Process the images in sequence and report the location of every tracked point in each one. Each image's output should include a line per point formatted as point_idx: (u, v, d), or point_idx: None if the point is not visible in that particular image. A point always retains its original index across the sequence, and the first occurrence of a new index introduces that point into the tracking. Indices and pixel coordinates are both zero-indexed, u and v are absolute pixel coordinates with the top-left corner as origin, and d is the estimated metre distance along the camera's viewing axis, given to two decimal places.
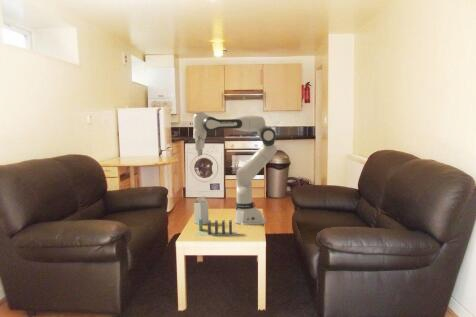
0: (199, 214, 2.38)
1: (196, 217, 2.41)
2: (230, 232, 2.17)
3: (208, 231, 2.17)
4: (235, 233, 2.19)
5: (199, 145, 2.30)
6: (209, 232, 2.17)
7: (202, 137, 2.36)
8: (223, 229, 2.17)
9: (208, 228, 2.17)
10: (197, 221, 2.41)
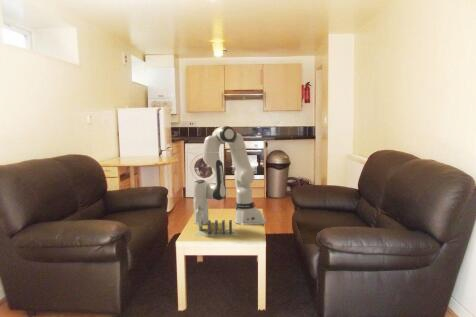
0: None
1: None
2: (230, 232, 2.17)
3: (208, 231, 2.17)
4: (235, 233, 2.19)
5: (200, 217, 2.16)
6: (209, 232, 2.17)
7: (203, 207, 2.22)
8: (223, 229, 2.17)
9: (208, 228, 2.17)
10: None
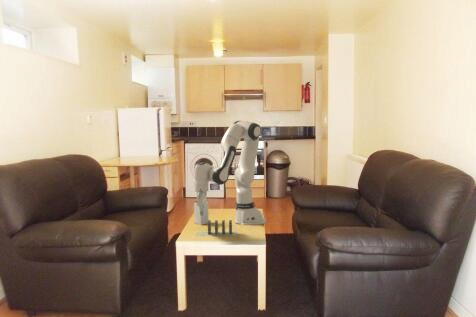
0: (199, 214, 2.38)
1: (196, 217, 2.41)
2: (230, 232, 2.17)
3: (208, 231, 2.17)
4: (235, 233, 2.19)
5: (201, 201, 2.07)
6: (209, 232, 2.17)
7: (204, 190, 2.13)
8: (223, 229, 2.17)
9: (208, 228, 2.17)
10: (197, 221, 2.41)
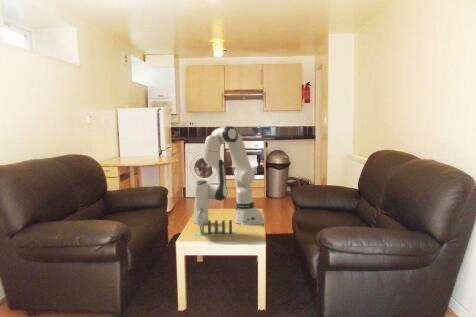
0: None
1: (196, 217, 2.41)
2: (230, 232, 2.17)
3: (208, 231, 2.17)
4: (235, 233, 2.19)
5: (201, 220, 2.08)
6: (209, 232, 2.17)
7: (205, 209, 2.14)
8: (223, 229, 2.17)
9: (208, 228, 2.17)
10: None
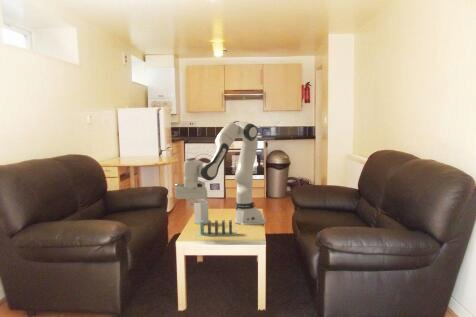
0: (199, 214, 2.38)
1: (196, 217, 2.41)
2: (230, 232, 2.17)
3: (208, 231, 2.17)
4: (235, 233, 2.19)
5: (175, 193, 2.16)
6: (209, 232, 2.17)
7: (184, 186, 2.14)
8: (223, 229, 2.17)
9: (208, 228, 2.17)
10: (197, 221, 2.41)
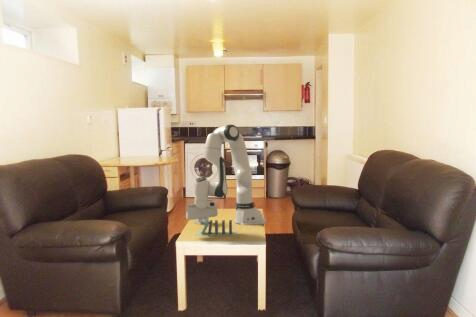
0: None
1: None
2: (230, 232, 2.17)
3: (208, 231, 2.17)
4: (235, 233, 2.19)
5: (187, 215, 2.13)
6: (209, 232, 2.17)
7: (197, 206, 2.14)
8: (223, 229, 2.17)
9: (209, 228, 2.17)
10: (197, 221, 2.41)
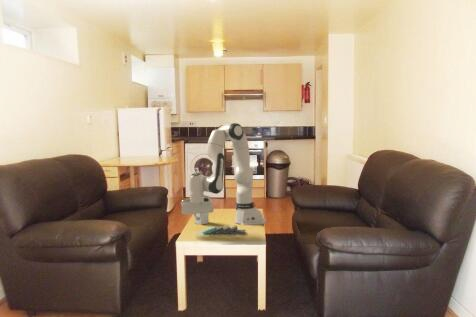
0: (199, 214, 2.38)
1: None
2: (234, 233, 2.17)
3: (213, 231, 2.17)
4: None
5: None
6: (212, 233, 2.17)
7: (191, 201, 2.15)
8: (230, 231, 2.17)
9: (216, 230, 2.17)
10: (197, 221, 2.41)
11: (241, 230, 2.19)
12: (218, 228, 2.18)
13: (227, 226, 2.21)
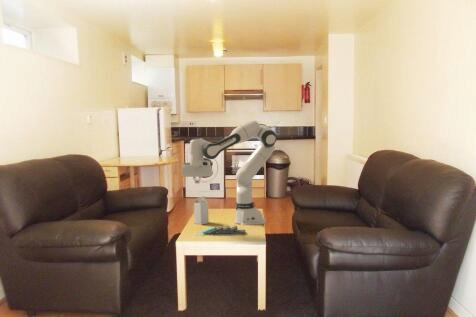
0: (199, 214, 2.38)
1: (196, 217, 2.41)
2: (234, 233, 2.17)
3: (213, 231, 2.17)
4: None
5: None
6: (212, 233, 2.17)
7: (190, 164, 2.23)
8: (230, 231, 2.17)
9: (216, 230, 2.17)
10: (197, 221, 2.41)
11: (241, 230, 2.19)
12: (218, 228, 2.18)
13: (227, 226, 2.21)
